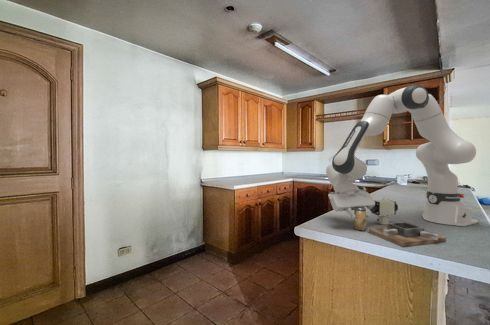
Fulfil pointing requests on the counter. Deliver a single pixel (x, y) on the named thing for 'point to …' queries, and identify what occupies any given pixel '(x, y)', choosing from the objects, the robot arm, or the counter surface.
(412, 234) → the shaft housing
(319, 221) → the counter surface
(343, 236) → the counter surface
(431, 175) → the robot arm
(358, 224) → the amber cylinder
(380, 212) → the pneumatic valve
